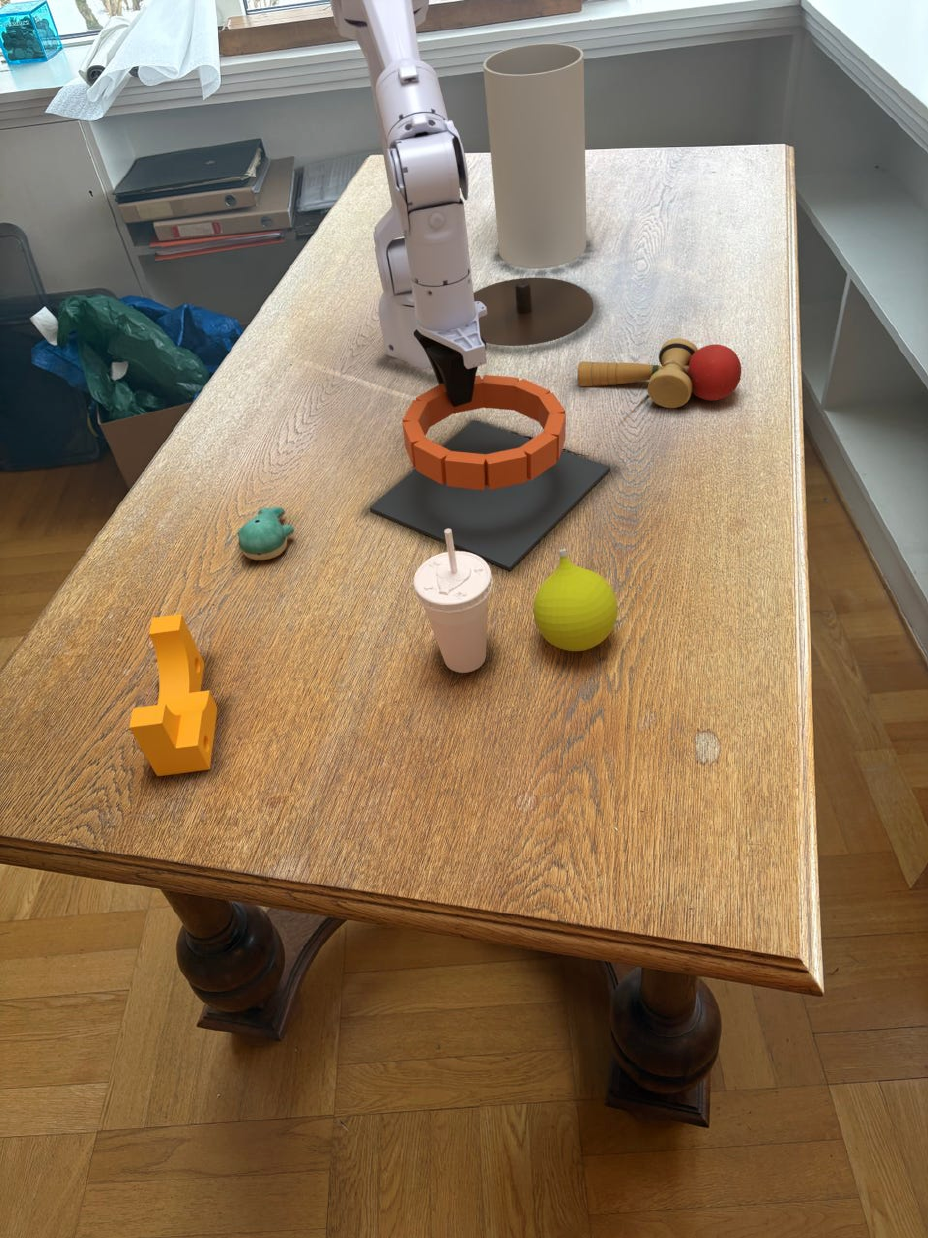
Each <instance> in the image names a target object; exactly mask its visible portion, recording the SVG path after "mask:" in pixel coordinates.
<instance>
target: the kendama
mask: <svg viewBox="0 0 928 1238" xmlns="http://www.w3.org/2000/svg"><path fill="white" fill-rule="evenodd" d="M658 360H659V363H660V365H659V364H648V363H637V362H616V361H615V362H613V361H612V362H608V361H586V360H585V361H584V360H582V361H579V363H578V366H577V383H578V386H579V387H594V386H595V387H600V386H613V385H623V384H632V383H640V382H641V383H642V382H644V381H645V382H647V381H648V385H647V395H648V397H649V399H650V400H651V401H652V402H653V403H655V404H656V405H657V406H660V407H662V408H667V409H676V408H680V407H682V406H684V405H685V404H687V403H688V402H689V400H690V398H691V396H692V394H694V395H695V396H696V397H698V398H700V399H702V400H704V401H719V400H722V399H724V398H727V397H728V396H730V395H731V394H732V393H733V392H734V391H736V388H737V387H738V386H739V384H740V382H741V379H742V378H741V377H742V364H741V361H740V359H739V356H738V355H737V353H736V352H735V351H733V350H732V349H731V348H730V347H727V346H726V345H722V344H716V343H715V344H708V345H705V346H702V347H701V348H699V349H698V347H697V346H696V345H695V343H694V342H692V341H690V340H688V339H686V338H682V337H681V338H680V337H675V338H671V339H669V340H667V341H666V342H664V343H663V344H662V346H661V348H660V350H659V353H658Z"/></svg>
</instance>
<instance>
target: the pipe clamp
mask: <svg viewBox="0 0 928 1238" xmlns="http://www.w3.org/2000/svg"><path fill="white" fill-rule="evenodd" d="M148 636H149V638H150V640H151V643H152V646H153V650H154V653H155V657H156V663H157V668H158V669H157V670H158V681H159V685H158V686H159V687H158V688H159V689H158V699H157V704H154V705H147V706H146V705H145V706H139V707H133V708H132V711H131V717H130V721H129V726H128V728H129V731H130V732H131V734H132V735H133V737H134V739H135V740H136V743H137V744H138V746H139V747H140V749H141V751H142V752H143V754H144V756H145V758H146V760H147V761H148V763H149V764H150V765H149V766H151V768H152V770H153V771H154V773H155V775H156V777H162V776H170V775H178V774H185V773H194V772H199V771H200V772H202V771H208V770H210V769H211V764H212V763H211V762H212V755H213V748H214V747H213V746H214V739H215V730H216V723H217V715H218V706H217V704H216V702H215V700H214V697H213V695H212V693H211V691H210V690H209V689H208V690H202V685H203V677H204V670H205V662H204V660H203V658H202V655H201V653H200V650H199V649H198V646H197V644H196V642H195V640H194V638H193V635H192V634H191V631H190V629H189V627H188V624H187V623H186V620H185V618H184V616H183V613H179V614H171V615H164V616H157V617H152V618H151V621H150V626H149V630H148ZM201 690H202V691H201Z"/></svg>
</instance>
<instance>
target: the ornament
mask: <svg viewBox="0 0 928 1238" xmlns="http://www.w3.org/2000/svg"><path fill="white" fill-rule="evenodd" d="M558 539H559V542H561V543H560V545H561V546H563V543H562V540H561V536H558ZM567 552H568V551H567V549H566V548H560V549H559V550H558V555H559V564H558V567H557V568H556V569H555V571H554V572H552V573H551V574H550V575H549V576H548V577H547V578H546V579H545V580H544V581H543V582H542V583H541V584H540V587H539V588H538V590H537V592H536V593H535V597H534V601H533V610H532V612H533V618H534V623H535V625H536V627H537V629H538V631H539V633H540V634H541V635H542V637H544V639H545V640H546V641H547V642H548V643H549V644H550V645H552V646H554V647H556V648H558V649H561V650H564V651H569V652H581V651H587V650H590V649H593V648H594V647H597V646H599V645H600V644H602V642H603V641H604V640H607V637H608V636H609V635H610V634H611V632H612V631H613V629H614V627H615V624H616V622H617V618H618V601H617V598H616V595H615V592H614V590H613V588H612V586H611V585H610V584H609V582H608V581H607V580H606V579H605V578H604V577H603V576H601V574H599V573H597V572H595V571H592V570H590V569H588V568H584V567H581V566H579V565H576V564H574V563H573V561H571V560H570V558H569V557H568V553H567Z"/></svg>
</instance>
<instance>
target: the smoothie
mask: <svg viewBox="0 0 928 1238" xmlns="http://www.w3.org/2000/svg"><path fill="white" fill-rule="evenodd" d="M444 532H445V538H446V543H445V544H446V550H447V551H445V552H441V553H439V554H436V555H433V556H432V557H429V558H428V559H426V560H425V561H424V562H423V563H421V565H420V566H419V567H418V568H417V569H416V571H415V573H414V577H413V586H414V587H413V588H414V595H415V597H416V599H417V601H418V602H419V603H420V604H421V606H423V608H424V611H425V613H426V617H427V619H428V622H429V624H430V627H431V629H432V632H433V635H434V638H435V640H436V644H437V646H438V648H439V651H440V653H441V654H440V655H441V656H442V659H443V661H444V664H445V665H446V667H447V668H448V669H449V670H451V671H453V672H456V673H460V674H464V673H465V674H466V673H471V672H474V671H476V670H478V669H480V668H481V667H482V666H483V665H484V663H485V662H486V658H487V646H488V645H487V641H488V618H489V601H490V599H489V598H490V596H489V594H490V593H491V592H492V589H493V584H494V581H493V575H492V570H491V567H490V565H489V563H487V561H486V560H483V559H482V558H481V557H479V556H477V555H475V554H472V553H469V552H465V551H462V550H455V547H454V543H453V537H452V530H451V529H446V530H445V531H444Z"/></svg>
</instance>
